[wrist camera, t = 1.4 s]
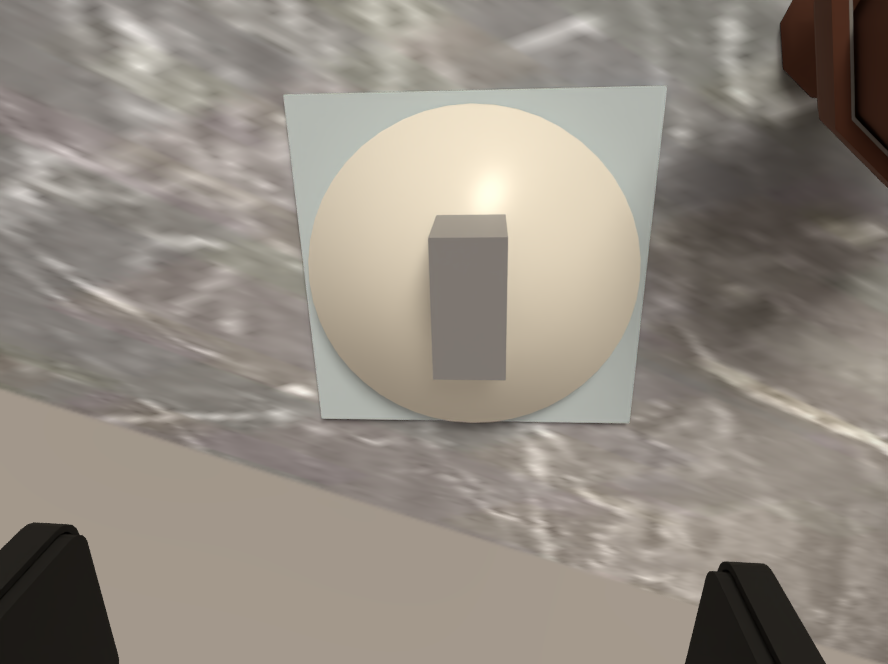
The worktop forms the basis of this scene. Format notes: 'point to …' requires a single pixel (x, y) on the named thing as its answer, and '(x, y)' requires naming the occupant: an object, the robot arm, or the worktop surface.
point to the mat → (573, 109)
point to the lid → (474, 263)
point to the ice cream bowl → (843, 70)
